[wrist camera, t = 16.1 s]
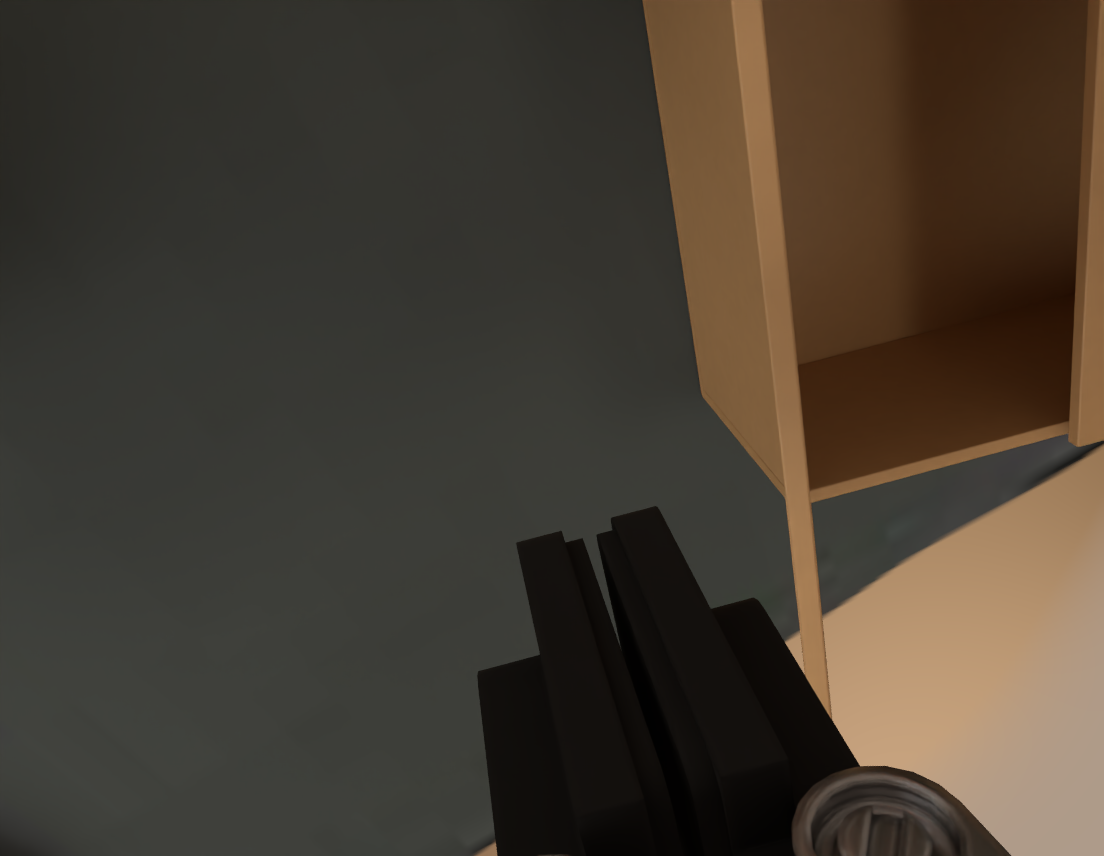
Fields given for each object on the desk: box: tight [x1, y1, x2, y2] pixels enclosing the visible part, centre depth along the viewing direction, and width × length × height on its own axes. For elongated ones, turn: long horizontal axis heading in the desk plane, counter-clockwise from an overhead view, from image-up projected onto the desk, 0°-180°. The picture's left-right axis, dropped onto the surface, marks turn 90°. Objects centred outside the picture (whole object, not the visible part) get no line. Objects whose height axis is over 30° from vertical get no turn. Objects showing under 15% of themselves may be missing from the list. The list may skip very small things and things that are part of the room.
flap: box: [730, 0, 832, 719], centre depth 18 cm, size 7×14×1 cm
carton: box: [643, 0, 1104, 503], centre depth 25 cm, size 15×14×9 cm
